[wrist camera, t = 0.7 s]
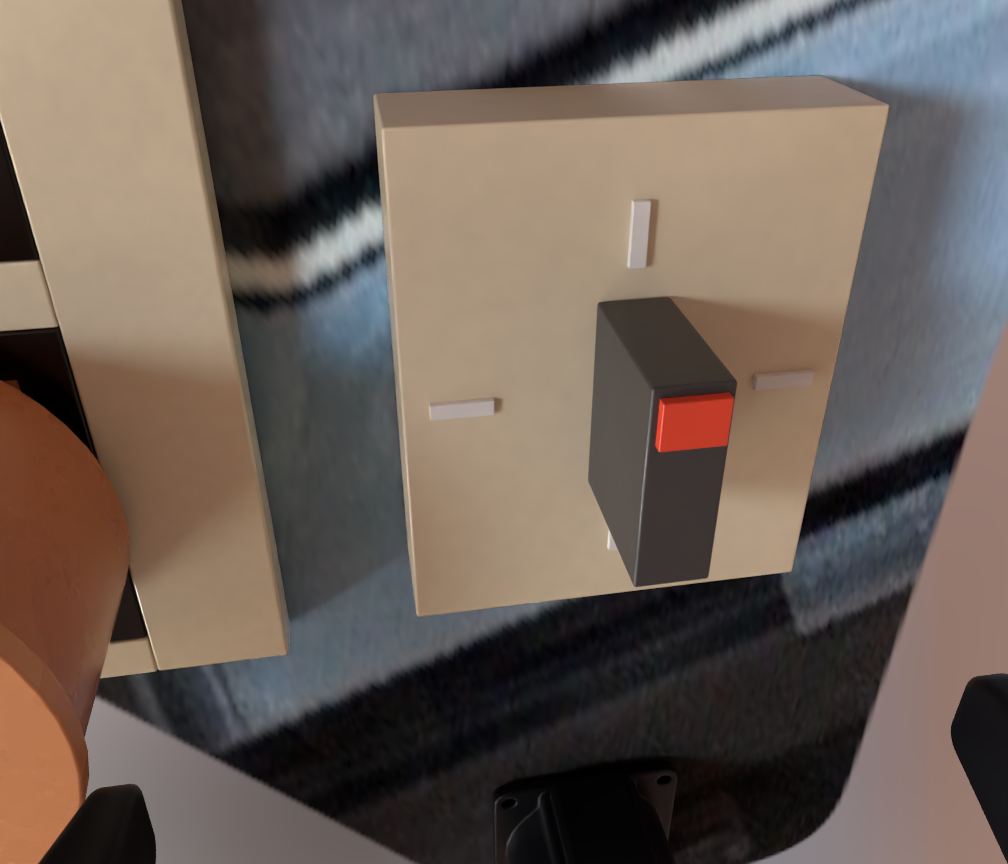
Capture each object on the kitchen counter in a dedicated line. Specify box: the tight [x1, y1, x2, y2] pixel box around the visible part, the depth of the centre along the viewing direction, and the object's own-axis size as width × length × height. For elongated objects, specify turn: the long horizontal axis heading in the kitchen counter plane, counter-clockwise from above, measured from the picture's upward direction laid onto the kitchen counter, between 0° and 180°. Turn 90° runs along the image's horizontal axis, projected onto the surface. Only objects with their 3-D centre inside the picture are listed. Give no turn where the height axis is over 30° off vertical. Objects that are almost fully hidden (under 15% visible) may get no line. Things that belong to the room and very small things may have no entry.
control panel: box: [373, 75, 889, 617], centre depth 22 cm, size 12×10×3 cm
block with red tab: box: [588, 297, 737, 587], centre depth 19 cm, size 5×2×4 cm, turn 1°
